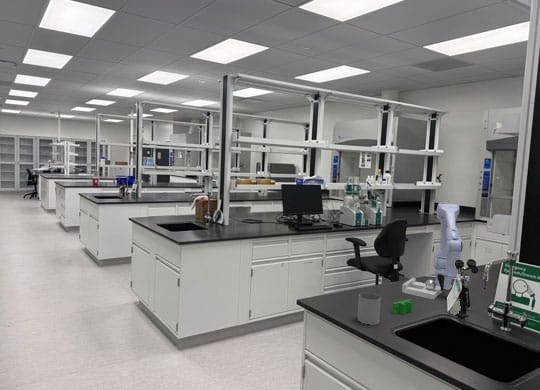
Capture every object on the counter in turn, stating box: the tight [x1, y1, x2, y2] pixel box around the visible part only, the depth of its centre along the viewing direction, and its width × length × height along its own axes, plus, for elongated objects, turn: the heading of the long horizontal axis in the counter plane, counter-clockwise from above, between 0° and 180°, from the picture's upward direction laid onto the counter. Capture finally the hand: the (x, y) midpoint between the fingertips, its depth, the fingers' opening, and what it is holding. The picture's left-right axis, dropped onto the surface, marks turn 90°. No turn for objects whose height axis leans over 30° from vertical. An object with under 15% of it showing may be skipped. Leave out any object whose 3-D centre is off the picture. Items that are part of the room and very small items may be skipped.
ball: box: [424, 279, 436, 290], centre depth 185 cm, size 5×5×5 cm
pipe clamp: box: [391, 299, 414, 316], centre depth 160 cm, size 11×4×5 cm, turn 122°
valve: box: [449, 298, 468, 316], centre depth 163 cm, size 7×7×12 cm
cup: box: [357, 292, 382, 326], centre depth 149 cm, size 8×8×10 cm
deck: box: [401, 277, 443, 301], centre depth 189 cm, size 16×15×4 cm
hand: (450, 292), depth 180 cm, fingers open, 7 cm apart
